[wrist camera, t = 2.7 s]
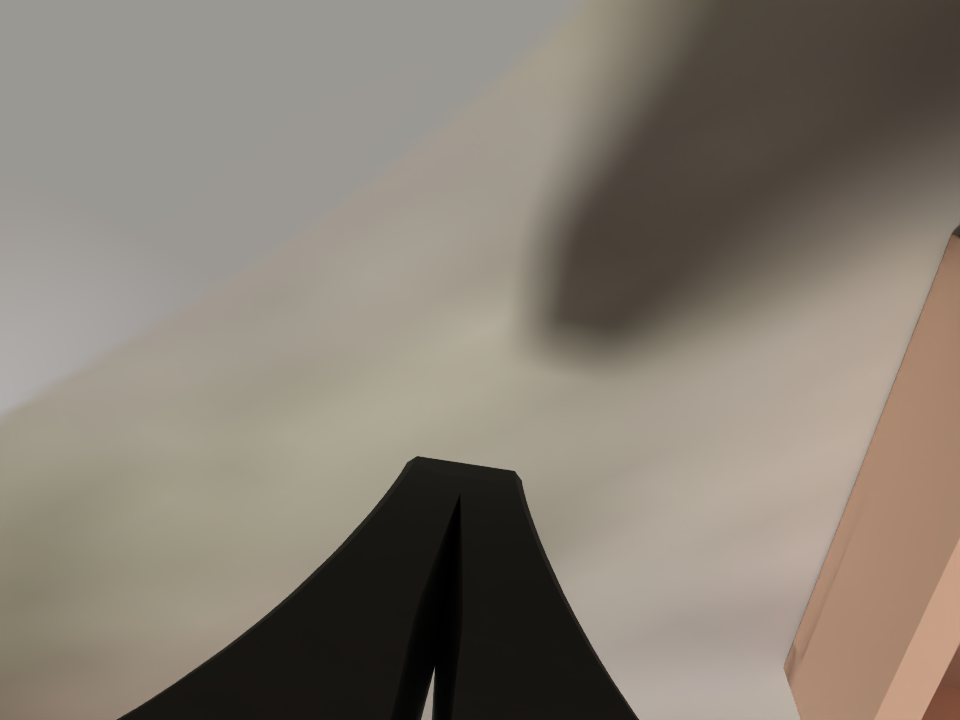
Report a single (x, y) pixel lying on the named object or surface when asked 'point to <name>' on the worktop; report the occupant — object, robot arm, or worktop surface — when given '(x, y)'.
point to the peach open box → (896, 548)
